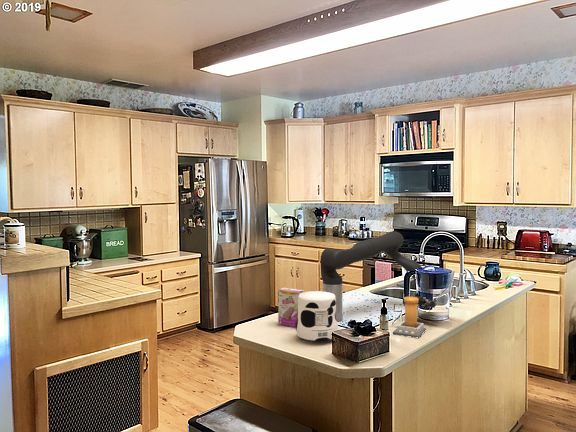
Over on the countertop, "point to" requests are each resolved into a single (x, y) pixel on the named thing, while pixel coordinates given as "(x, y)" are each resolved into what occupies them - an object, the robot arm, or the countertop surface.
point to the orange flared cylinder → (411, 311)
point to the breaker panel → (409, 330)
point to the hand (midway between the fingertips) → (415, 305)
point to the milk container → (316, 316)
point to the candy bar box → (288, 306)
